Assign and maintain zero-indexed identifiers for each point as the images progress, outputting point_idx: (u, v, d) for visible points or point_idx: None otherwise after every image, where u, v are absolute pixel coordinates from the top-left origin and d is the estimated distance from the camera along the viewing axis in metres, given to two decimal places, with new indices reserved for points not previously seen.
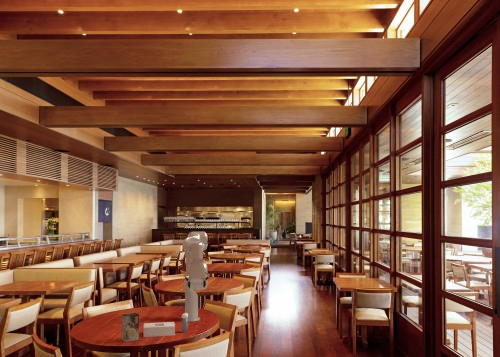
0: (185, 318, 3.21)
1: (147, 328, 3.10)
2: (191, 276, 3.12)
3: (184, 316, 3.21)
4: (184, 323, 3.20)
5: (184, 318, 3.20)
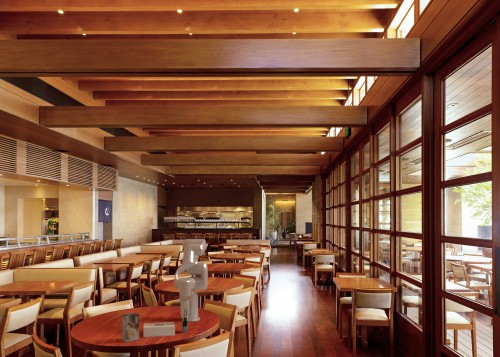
0: None
1: (147, 328, 3.10)
2: (188, 313, 3.19)
3: None
4: None
5: None
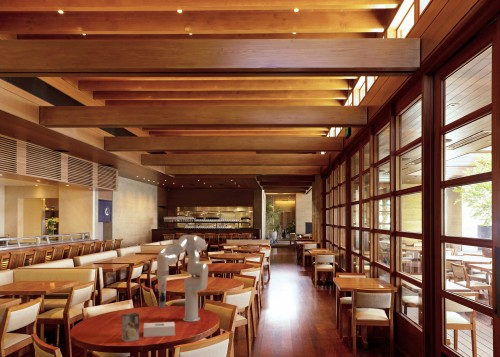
0: None
1: (147, 328, 3.10)
2: (165, 288, 3.16)
3: None
4: None
5: None
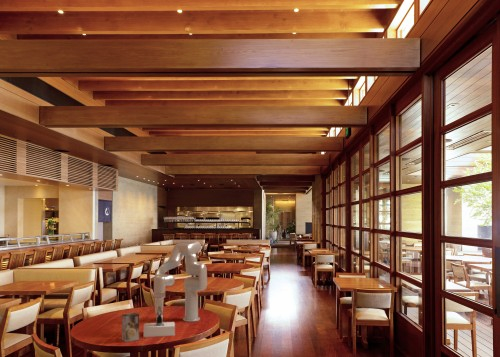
0: None
1: (147, 328, 3.10)
2: (162, 310, 3.14)
3: None
4: (158, 325, 3.15)
5: None
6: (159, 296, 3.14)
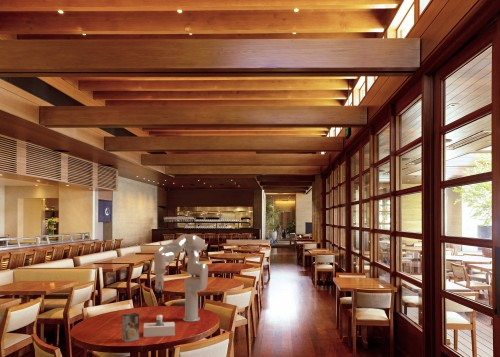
0: (159, 320, 3.15)
1: (147, 328, 3.10)
2: None
3: (158, 318, 3.15)
4: (158, 325, 3.15)
5: (158, 320, 3.15)
6: (159, 272, 3.15)
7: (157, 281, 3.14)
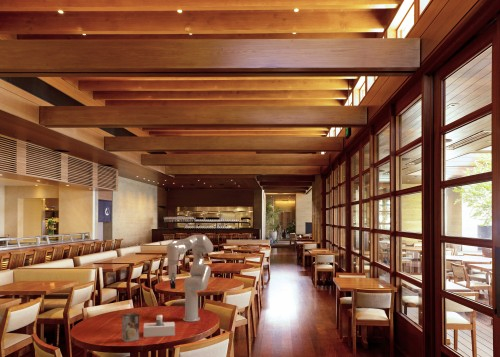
0: (159, 320, 3.15)
1: (147, 328, 3.10)
2: None
3: (158, 318, 3.15)
4: (158, 325, 3.15)
5: (158, 320, 3.15)
6: (173, 263, 3.28)
7: (170, 272, 3.26)
